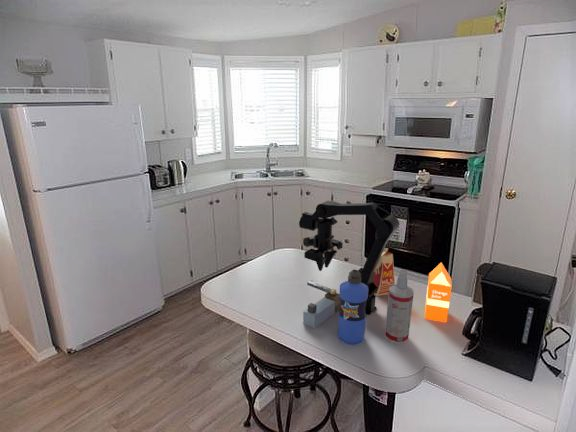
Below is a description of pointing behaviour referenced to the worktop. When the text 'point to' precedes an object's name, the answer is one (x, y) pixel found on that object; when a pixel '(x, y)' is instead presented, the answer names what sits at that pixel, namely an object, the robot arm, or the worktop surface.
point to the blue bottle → (352, 309)
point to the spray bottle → (399, 310)
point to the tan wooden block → (334, 298)
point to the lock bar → (322, 288)
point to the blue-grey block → (318, 312)
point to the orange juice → (438, 294)
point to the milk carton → (384, 273)
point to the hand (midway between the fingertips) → (323, 268)
